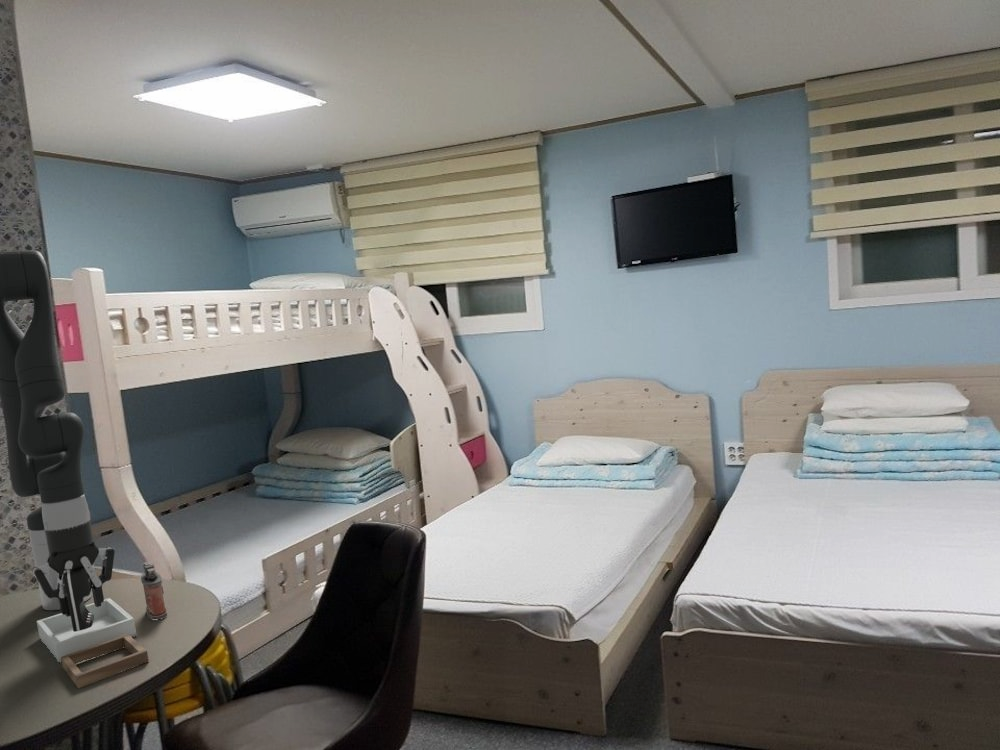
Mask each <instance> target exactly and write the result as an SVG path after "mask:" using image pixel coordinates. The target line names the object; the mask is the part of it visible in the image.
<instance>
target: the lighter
mask: <svg viewBox="0 0 1000 750" xmlns="http://www.w3.org/2000/svg"><path fill="white" fill-rule="evenodd" d="M143 570H144V573H142V574H141V575H140V581H141V584H142V585H143V592H144V598H145V605H146V607H145V610H146V615H147V617H148V616H149V617H150V618H152V619H161V618H164V617H166V616H167V617H168V611H167V607H166V604H165V600H164V599H165V598H164V586H163V585H162V584H163V582H162V581H163V580H162V576H161V574H159V572H156V568H155V565H154V563H153V564H151V563H150V562H149V561H145V562H143ZM149 617H148V618H149ZM167 617H166V618H167ZM150 618H149V619H150ZM152 619H151V620H152ZM164 619H165V618H164Z"/></svg>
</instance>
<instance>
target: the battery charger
mask: <svg viewBox="0 0 1000 750" xmlns="http://www.w3.org/2000/svg"><path fill="white" fill-rule="evenodd" d="M64 584H65V589H66V595H67V600H68V605H69V610H70V616H71V621H72V626H73V631H74V632H76V631H77V632H78V631H80V630H84V629H87V628H90V627H91V626H92V625H93V621H94V614H92V613H90V612H89V611H88V610H87V608H86V607H85V606H86V605H85V604H86V603H85V602H84V600H83V598H84V597H86V596H88V595H90V592H91V593H92V586H93V584H92V582H91V579H90V577H89V575H88V573H87V571H86V569H85V568H84V567H78V568H74V569H72V570H71V571H67V572H65V573H64Z"/></svg>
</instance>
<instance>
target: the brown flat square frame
mask: <svg viewBox="0 0 1000 750" xmlns="http://www.w3.org/2000/svg"><path fill="white" fill-rule="evenodd" d="M123 647H126V648H127V649H128V650H129V651H130V652H131V653H132V654H131V653H130V652H129V651H128V650H127V649H126V648H125V649H126V650H127V651H128V652H129V653H130V654H129V655H127V656H124V657H120V658H117V659H114V660H113V661H109V662H107V663H104V664H102V665H99V666H96V667H94V668H93V667H92V668H90V669H87V670H85V671H83V672H82V671H81V670H80V669H79V668H78V665H75V664H76V663H78V662H81V661H83V660H87V659H91V658H93V657H97V656H100V655H102V654H106V653H109V652H112V651H114V650H117V649H120V648H123ZM112 653H113V652H112ZM148 661H149V656H148V650H147V649H146V648H144V647H143V646H142V645H141V644H140V643H139V642H138V641H136V640H135V639H134V638H132V637H131V636H130V635H129V634H126V635H123V636H120V637H117V638H114V639H111V640H108V641H105V642H103V643H100V644H97V645H94V646H91V647H88V648H85V649H82V650H79V651H77V652H74V653H71V654H68V655H65V656H62V657H61V662H62V663H61V666H62V669H63V668H64V669H65V670H64V669H63V670H64V672H65V671H66V672H67V673H66V672H65V673H66V674H67V676H69V678H70V680H71V681H72V682H73V683H74V684H75V685H76V687H77V688H78V689H81V688H84V687H86V686H90V685H92V684H95V683H97V682H100V681H103V680H105V679H108V678H110V676H111V677H113V676H116V675H118V674H117V673H119V674H121V673H122V672H121V671H124V670H127V669H129V670H131V669H130V668H132V667H134V666H137V665H140V664H143V663H145V664H147V663H146V662H148ZM148 663H149V662H148ZM143 665H144V664H143ZM140 666H141V665H140ZM137 667H138V666H137ZM132 669H133V668H132ZM127 671H128V670H127ZM120 672H121V673H120ZM124 672H125V671H124ZM115 674H116V675H115ZM107 677H108V678H107ZM102 679H103V680H102ZM99 680H100V681H99Z"/></svg>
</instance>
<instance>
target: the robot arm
mask: <svg viewBox="0 0 1000 750" xmlns="http://www.w3.org/2000/svg"><path fill="white" fill-rule="evenodd" d="M24 300H33V314H32V318H31V321H30V324H29V325H28V328H27V330H26V332H25V333H24V332H23V331H22V330H21V329H20V328H19V326H18V325H17V324H16V322H15V321H14V320H13V319H12V317H11V316H10V314H9V312H8V311H7V308H6V306H5V303H6V302H13V301H15V302H16V301H24ZM53 309H54V308H53V300H52V290H51V281H50V275H49V270H48V266H47V264H46V261H45V257H44V256H43V254H42V253H41V252H40V251H37V250H34V249H33V250H31V249H30V250H29V249H28V250H27V249H26V250H24V249H23V250H7V251H4V250H3V251H0V405H1V410H2V414H3V415H2V416H3V420H4V426H5V435H6V446H7V447H6V448H7V458H8V470H9V471H8V472H9V478H10V484H11V486H12V490H13V492H14V493H15V494H16V496H18V497H20V498H27V497H33V496H38V495H39V498H40V502H41V506H40V507H38V508H36V509H35V510H33V511H32V512H31V513H29V514H28V515H27V516H26V517H27V518H26V523H27V529H28V534H29V539H30V546H31V550H32V556H33V560H34V561H33V562H34V566H35V567H33V568H32V569H31V572H32V574H33V575H34V578H35V579H36V581H37V582H38V589H39V595H40V601H41V605H42V606H41V607H42V609H43V610H45V611H58V610H59V611H60V614H61V613H62V614H63V615H66V616H67V617H69V616H70V610H69V605H68V600H67V595H66V589H65V584H64V573H65V572H67V571H71V570H72V569H74V568H78V567H84V568H85V569H86V571H87V573H88V575H89V577H90V579H91V582H92V588H91V592H90V595H88V596H86V597H84V598H83V600H84V603H85V602H86V601H88V600H89V599H90V598H91V597H93V603H94V604H95V606H96V607H100V606H101V603H102V602H103V601H104V600H105V597H104V592H103V584H105V583H106V582H108V581H111V580H112V574H113V568H114V560H115V553H116V551H115V550H114V549H113V547H112V548H111V547H110V546H106V547H105V548H99V547H98V546H96V543H95V539H94V533H93V525H92V522H91V520H92V519H91V511H90V510H89V505H88V502H87V499H86V496H85V495H86V494H85V491H84V486H83V479H82V470H81V469H82V468H81V467H82V466H81V465H82V464H81V463H82V462H81V461H82V451H83V447H84V446H83V444H84V440H85V426H84V422H83V420H82V419H81V418H80V416H78V415H77V414H76V413H74V412H63V413H57V414H56V413H55V414H51V415H45V416H42V414H43V413H44V411H45V409H46V408H47V407H49V406H52V405H54V404H57V403H59V402H61V401H62V400H63V399H64V397H65V387H64V384H63V383H64V382H63V379H62V378H63V377H62V373H61V369H60V364H59V360H58V355H57V346H56V336H55V335H56V334H55V320H54V319H55V318H54V310H53ZM98 555H99V556H98ZM97 557H100V560H102V565H101V572H100V573H101V574H100V575H99V576H98V573H97V572H96V570H95V569H94V567H93V565H94V563H95V562H96V559H97Z"/></svg>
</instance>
